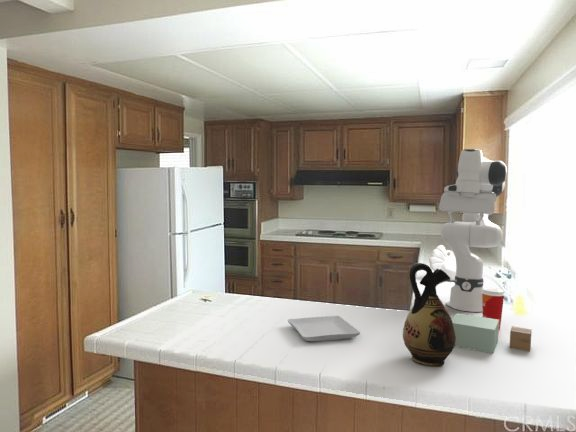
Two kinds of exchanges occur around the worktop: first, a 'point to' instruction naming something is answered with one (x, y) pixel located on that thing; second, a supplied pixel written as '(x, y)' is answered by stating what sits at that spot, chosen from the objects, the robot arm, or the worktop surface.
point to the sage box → (476, 332)
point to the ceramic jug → (428, 320)
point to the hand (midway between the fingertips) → (464, 224)
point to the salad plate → (323, 328)
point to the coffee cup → (492, 303)
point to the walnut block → (520, 338)
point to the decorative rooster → (443, 261)
